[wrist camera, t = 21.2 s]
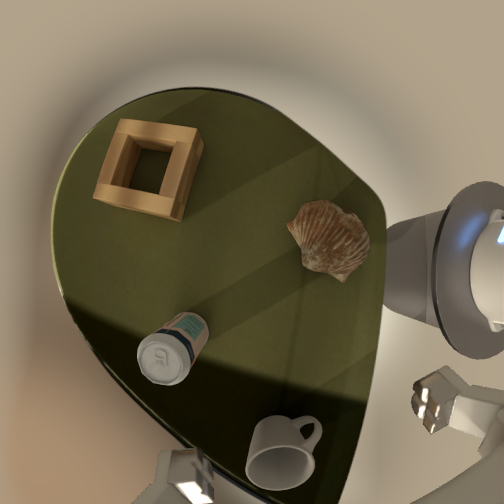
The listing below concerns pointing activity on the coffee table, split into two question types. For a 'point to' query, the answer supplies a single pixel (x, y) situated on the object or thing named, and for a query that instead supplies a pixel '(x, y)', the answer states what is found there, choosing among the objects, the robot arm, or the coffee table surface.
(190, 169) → the holder
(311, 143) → the coffee table surface
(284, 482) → the cup
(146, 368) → the beer can
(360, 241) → the seashell
